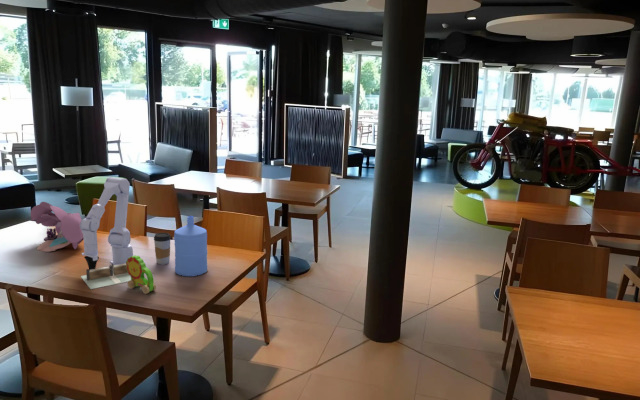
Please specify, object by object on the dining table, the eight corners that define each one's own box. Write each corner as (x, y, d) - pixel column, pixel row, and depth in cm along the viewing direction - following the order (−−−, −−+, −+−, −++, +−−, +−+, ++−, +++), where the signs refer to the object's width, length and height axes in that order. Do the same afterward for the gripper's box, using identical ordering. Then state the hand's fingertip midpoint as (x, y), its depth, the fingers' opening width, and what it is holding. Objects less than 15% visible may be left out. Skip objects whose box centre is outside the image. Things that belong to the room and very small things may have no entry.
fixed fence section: (134, 271, 239) (134, 261, 238) (135, 272, 238) (135, 261, 236) (109, 275, 232) (109, 265, 230) (110, 276, 230) (110, 266, 229)
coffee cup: (174, 261, 254) (174, 234, 251) (163, 266, 246) (162, 238, 243) (162, 258, 257) (161, 231, 254) (151, 263, 250) (150, 235, 247)
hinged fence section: (109, 274, 231) (108, 265, 230) (110, 275, 230) (109, 266, 229) (86, 279, 225) (85, 269, 224) (87, 280, 224) (86, 270, 223)
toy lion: (157, 291, 217) (156, 259, 213) (147, 295, 212) (145, 262, 209) (133, 282, 225) (132, 251, 221) (123, 286, 220) (122, 254, 217)
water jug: (213, 272, 242) (213, 217, 236) (185, 279, 231) (183, 222, 225) (197, 263, 253) (196, 211, 246) (169, 270, 242) (167, 215, 236)
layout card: (132, 266, 244) (132, 266, 244) (144, 278, 231) (144, 277, 230) (80, 276, 229) (80, 276, 229) (90, 289, 216) (90, 288, 216)
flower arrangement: (22, 255, 267) (4, 208, 256) (55, 236, 287) (40, 192, 277) (73, 258, 256) (56, 209, 245) (103, 238, 276) (89, 192, 266)
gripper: (77, 240, 231) (79, 267, 234) (85, 248, 220) (87, 277, 223) (93, 238, 235) (94, 265, 238) (101, 246, 224) (103, 274, 227)
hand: (92, 270), depth 231 cm, fingers closed
